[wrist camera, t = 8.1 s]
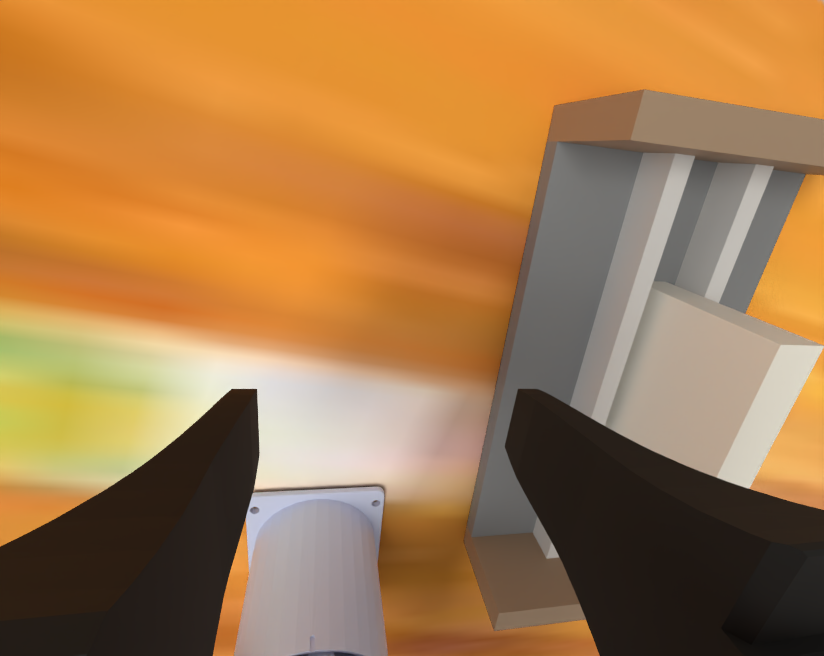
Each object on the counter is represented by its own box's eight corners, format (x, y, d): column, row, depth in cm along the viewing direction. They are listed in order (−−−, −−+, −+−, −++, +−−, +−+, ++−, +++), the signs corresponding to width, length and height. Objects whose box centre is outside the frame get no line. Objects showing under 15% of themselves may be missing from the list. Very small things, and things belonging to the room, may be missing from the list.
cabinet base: (638, 527, 32) (701, 604, 27) (463, 540, 29) (494, 631, 24) (799, 142, 22) (954, 141, 16) (554, 105, 19) (644, 89, 14)
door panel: (603, 460, 27) (703, 574, 20) (576, 462, 27) (667, 578, 20) (666, 282, 23) (824, 346, 15) (633, 279, 22) (780, 344, 15)
